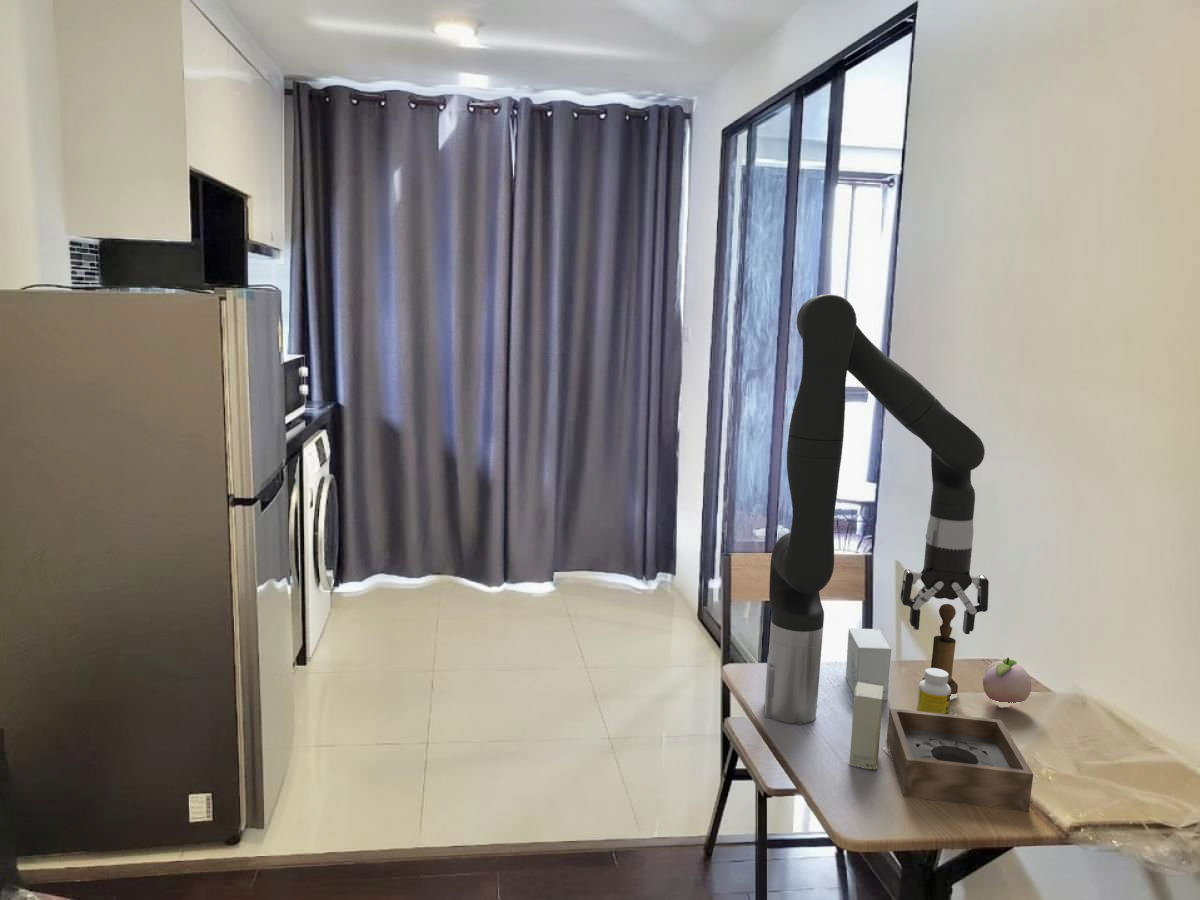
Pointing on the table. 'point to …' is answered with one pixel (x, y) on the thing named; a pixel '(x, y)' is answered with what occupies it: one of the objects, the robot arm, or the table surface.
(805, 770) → the table surface
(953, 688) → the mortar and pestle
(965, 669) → the table surface
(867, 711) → the skincare box
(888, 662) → the skincare box
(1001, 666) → the decorative fruit
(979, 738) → the bore box
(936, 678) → the supplement bottle
